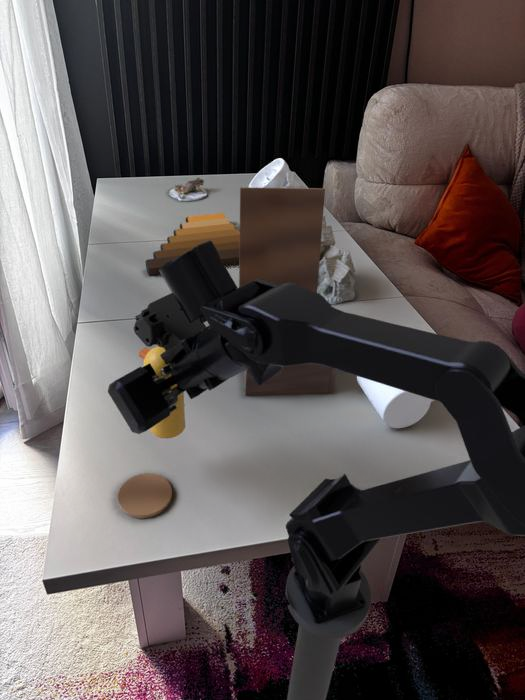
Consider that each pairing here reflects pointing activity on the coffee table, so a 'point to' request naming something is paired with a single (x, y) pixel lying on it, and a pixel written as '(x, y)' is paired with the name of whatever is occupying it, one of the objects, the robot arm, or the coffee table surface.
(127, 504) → the coaster
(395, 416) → the mug
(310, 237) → the chest lid
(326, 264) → the ceramic cottage
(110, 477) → the coffee table surface
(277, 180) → the skull bowl
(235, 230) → the pan flute
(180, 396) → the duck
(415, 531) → the robot arm
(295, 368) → the chest
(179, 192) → the frog figurine
